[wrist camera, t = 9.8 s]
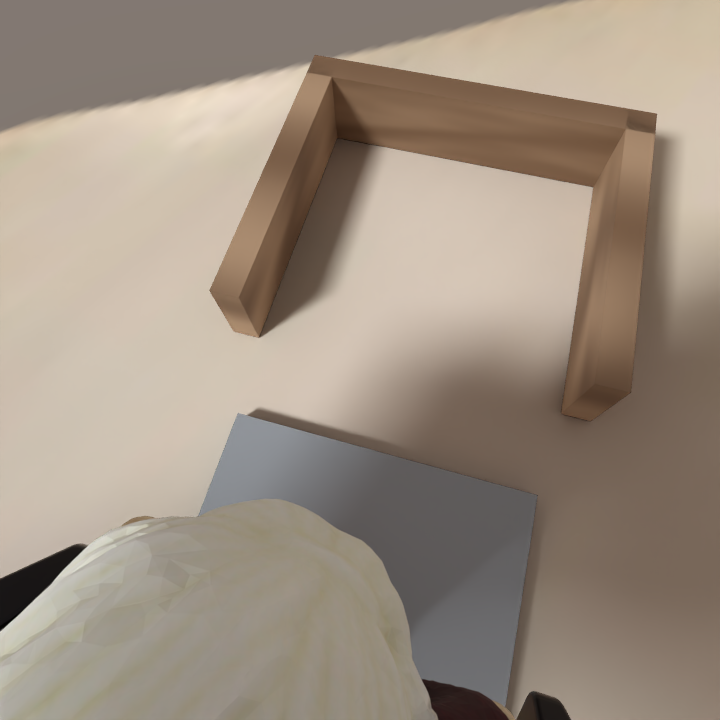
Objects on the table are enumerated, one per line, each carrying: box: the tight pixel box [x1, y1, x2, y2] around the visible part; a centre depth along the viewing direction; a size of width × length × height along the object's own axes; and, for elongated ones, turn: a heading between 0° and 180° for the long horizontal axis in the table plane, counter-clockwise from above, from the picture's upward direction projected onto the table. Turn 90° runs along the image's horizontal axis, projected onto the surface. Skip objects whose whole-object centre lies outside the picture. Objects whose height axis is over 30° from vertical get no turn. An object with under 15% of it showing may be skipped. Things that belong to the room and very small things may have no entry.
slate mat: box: [198, 413, 538, 707], centre depth 15 cm, size 10×10×1 cm
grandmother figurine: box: [0, 499, 516, 720], centre depth 8 cm, size 8×4×13 cm, turn 76°
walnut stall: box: [210, 55, 657, 421], centre depth 19 cm, size 11×13×3 cm
